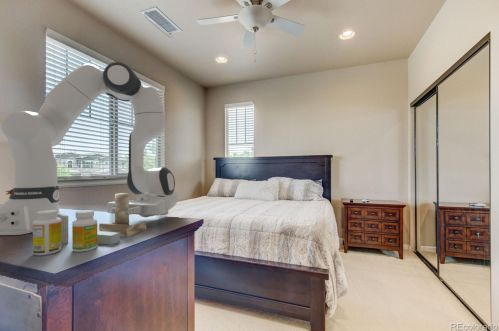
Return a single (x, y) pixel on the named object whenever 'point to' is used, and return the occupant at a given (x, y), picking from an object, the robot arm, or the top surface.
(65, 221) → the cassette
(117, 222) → the dowel
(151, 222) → the top surface
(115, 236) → the wall
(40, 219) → the supplement bottle
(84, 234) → the supplement bottle
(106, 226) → the cradle
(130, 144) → the robot arm
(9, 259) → the top surface
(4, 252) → the top surface
